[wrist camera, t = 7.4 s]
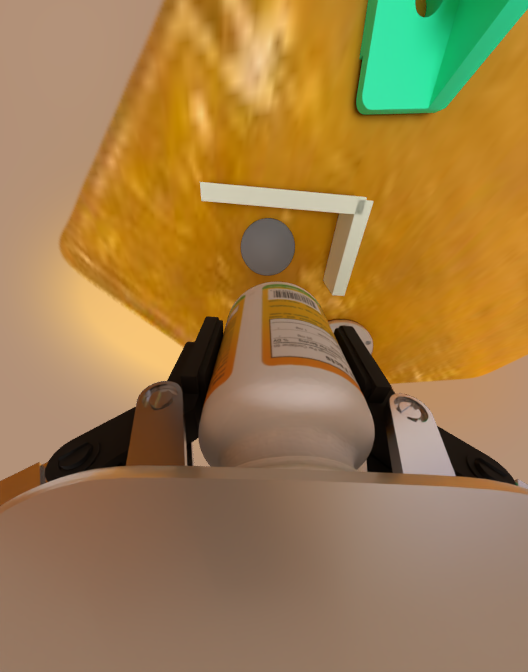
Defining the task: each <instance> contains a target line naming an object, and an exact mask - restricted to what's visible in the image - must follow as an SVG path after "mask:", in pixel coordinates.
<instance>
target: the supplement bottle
mask: <svg viewBox="0 0 528 672" xmlns="http://www.w3.org/2000/svg"><path fill="white" fill-rule="evenodd" d="M198 437H199V444H200V448H201V451H202V453H203V455H204V458H205V459H206V461H207V462H208V464H209V465H210V466H211V467H238V468H270V469H298V470H326V471H354V472H359V471H358V470H357V469H358V468H359V467H360V466H361V465H362V464H363V463H364V462H365V460H366V459H367V457H368V456H369V454H370V452H371V450H372V447H373V442H374V437H375V429H374V422H373V418H372V415H371V412H370V410H369V407H368V405H367V403H366V400H365V398H364V396H363V394H362V392H361V390H360V387H359V385H358V383H357V381H356V379H355V377H354V375H353V373H352V371H351V369H350V367H349V365H348V363H347V361H346V359H345V356H344V354H343V352H342V350H341V348H340V346H339V344H338V342H337V340H336V338H335V336H334V334H333V332H332V330H331V327H330V325H329V323H328V321H327V319H326V317H325V315H324V313H323V311H322V309H321V307H320V305H319V303H318V302H317V301H316V299H315V298H314V297H313V296H312V295H311V294H310V293H309V292H307V291H306V290H304V289H303V288H301V287H299V286H297V285H294V284H291V283H286V282H267V283H263V284H260V285H257V286H255V287H252V288H251V289H249V290H247V291H246V292H245V293H243V294H242V295H241V296H240V297H239V298H238V299H237V301H236V302H235V303H234V305H233V307H232V309H231V311H230V313H229V316H228V319H227V323H226V327H225V331H224V334H223V338H222V342H221V346H220V349H219V352H218V356H217V359H216V363H215V366H214V370H213V374H212V377H211V380H210V384H209V387H208V391H207V395H206V398H205V402H204V406H203V410H202V415H201V419H200V423H199V432H198Z"/></svg>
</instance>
